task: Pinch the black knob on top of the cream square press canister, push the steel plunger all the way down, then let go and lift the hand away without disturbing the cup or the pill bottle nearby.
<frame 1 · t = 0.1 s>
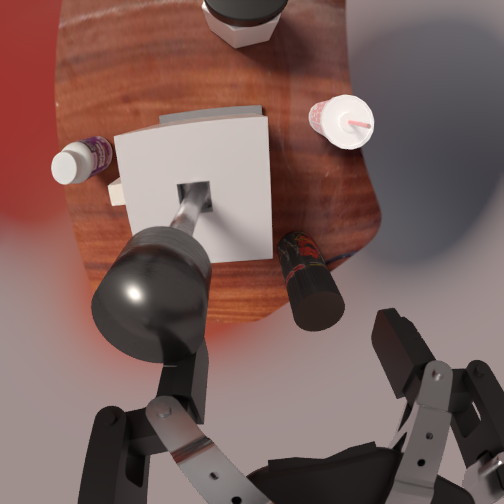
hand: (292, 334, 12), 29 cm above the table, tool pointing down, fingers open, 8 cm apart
pill bottle: (98, 153, 35), on the table
press canister: (214, 155, 36), on the table
jar: (243, 21, 28), on the table
beverage cup: (324, 117, 35), on the table
deodorant: (296, 248, 44), on the table
plunger: (181, 228, 16), point 24 cm above the table, slide at 7.1 cm, touching gripper
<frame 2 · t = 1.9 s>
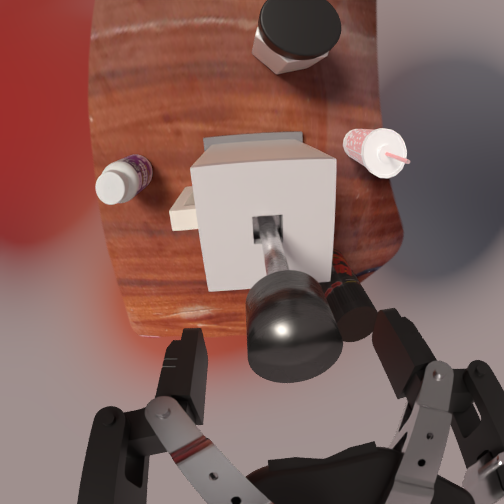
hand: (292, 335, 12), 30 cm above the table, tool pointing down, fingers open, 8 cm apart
pill bottle: (137, 171, 38), on the table
press canister: (255, 178, 39), on the table
jar: (283, 46, 31), on the table
beverage cup: (357, 144, 37), on the table
deodorant: (327, 264, 46), on the table
plunger: (275, 262, 18), point 24 cm above the table, slide at 7.1 cm
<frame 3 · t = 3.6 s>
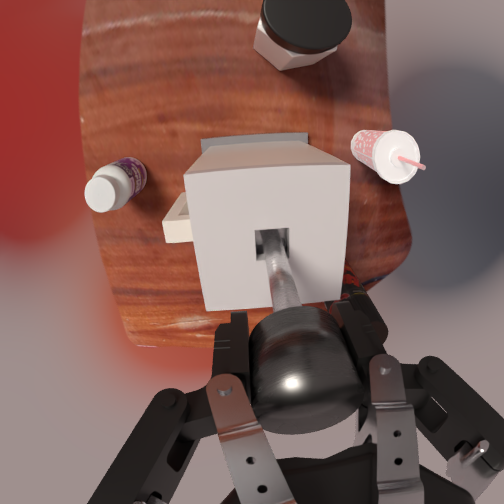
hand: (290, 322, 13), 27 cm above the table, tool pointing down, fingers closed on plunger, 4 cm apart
pill bottle: (130, 175, 35), on the table
press canister: (257, 182, 37), on the table
jar: (287, 41, 28), on the table
beverage cup: (365, 146, 35), on the table
deodorant: (332, 273, 44), on the table
plunger: (282, 287, 15), point 24 cm above the table, slide at 7.0 cm, touching gripper
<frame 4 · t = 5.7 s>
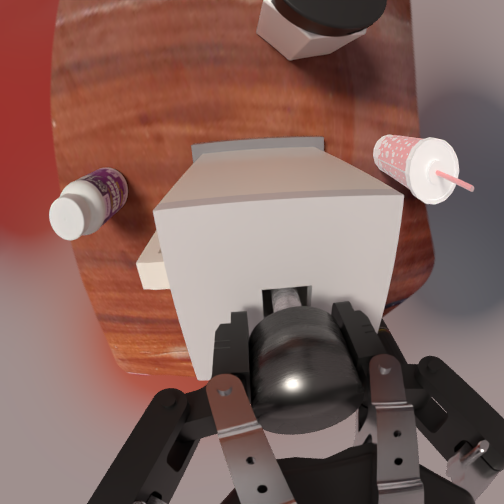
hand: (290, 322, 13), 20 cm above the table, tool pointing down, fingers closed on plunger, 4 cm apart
pill bottle: (109, 188, 29), on the table
press canister: (261, 197, 30), on the table
jar: (297, 25, 22), on the table
beverage cup: (389, 153, 28), on the table
deodorant: (346, 299, 37), on the table
plunger: (282, 287, 15), point 17 cm above the table, slide at -0.1 cm, touching gripper
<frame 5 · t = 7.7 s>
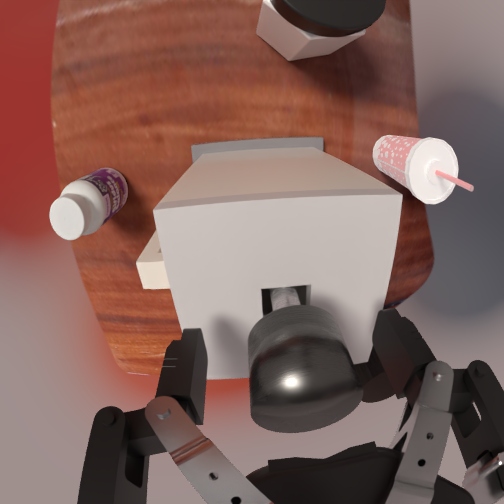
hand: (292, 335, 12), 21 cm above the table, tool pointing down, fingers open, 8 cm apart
pill bottle: (109, 188, 29), on the table
press canister: (260, 198, 30), on the table
jar: (297, 26, 22), on the table
beverage cup: (389, 154, 29), on the table
deodorant: (345, 299, 38), on the table
plunger: (281, 286, 16), point 17 cm above the table, slide at -0.1 cm
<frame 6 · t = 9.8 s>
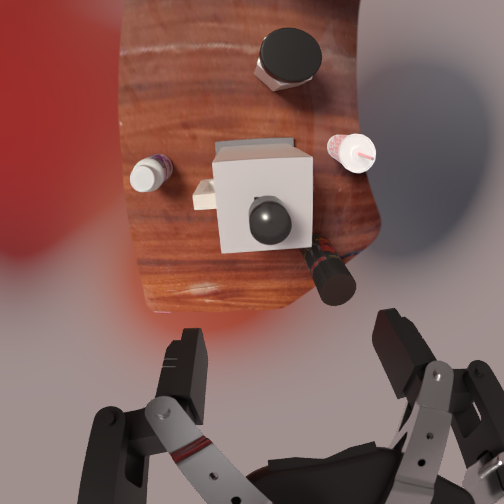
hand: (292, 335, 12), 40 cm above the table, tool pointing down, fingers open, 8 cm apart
pill bottle: (159, 167, 47), on the table
press canister: (256, 174, 49), on the table
jar: (279, 68, 40), on the table
beverage cup: (338, 146, 47), on the table
deodorant: (315, 247, 56), on the table
plunger: (264, 202, 34), point 17 cm above the table, slide at -0.1 cm
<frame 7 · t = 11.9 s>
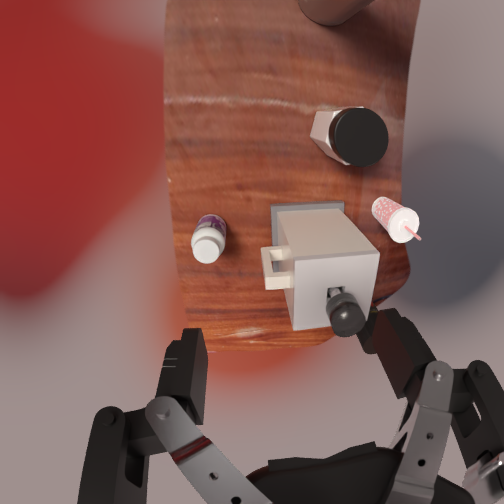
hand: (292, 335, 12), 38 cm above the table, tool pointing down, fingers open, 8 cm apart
pill bottle: (211, 226, 51), on the table
press canister: (306, 235, 52), on the table
jar: (333, 130, 43), on the table
beverage cup: (381, 207, 50), on the table
deodorant: (352, 294, 59), on the table
plunger: (332, 286, 37), point 17 cm above the table, slide at -0.1 cm
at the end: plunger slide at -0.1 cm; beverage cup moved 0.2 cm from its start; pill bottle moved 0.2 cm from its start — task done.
